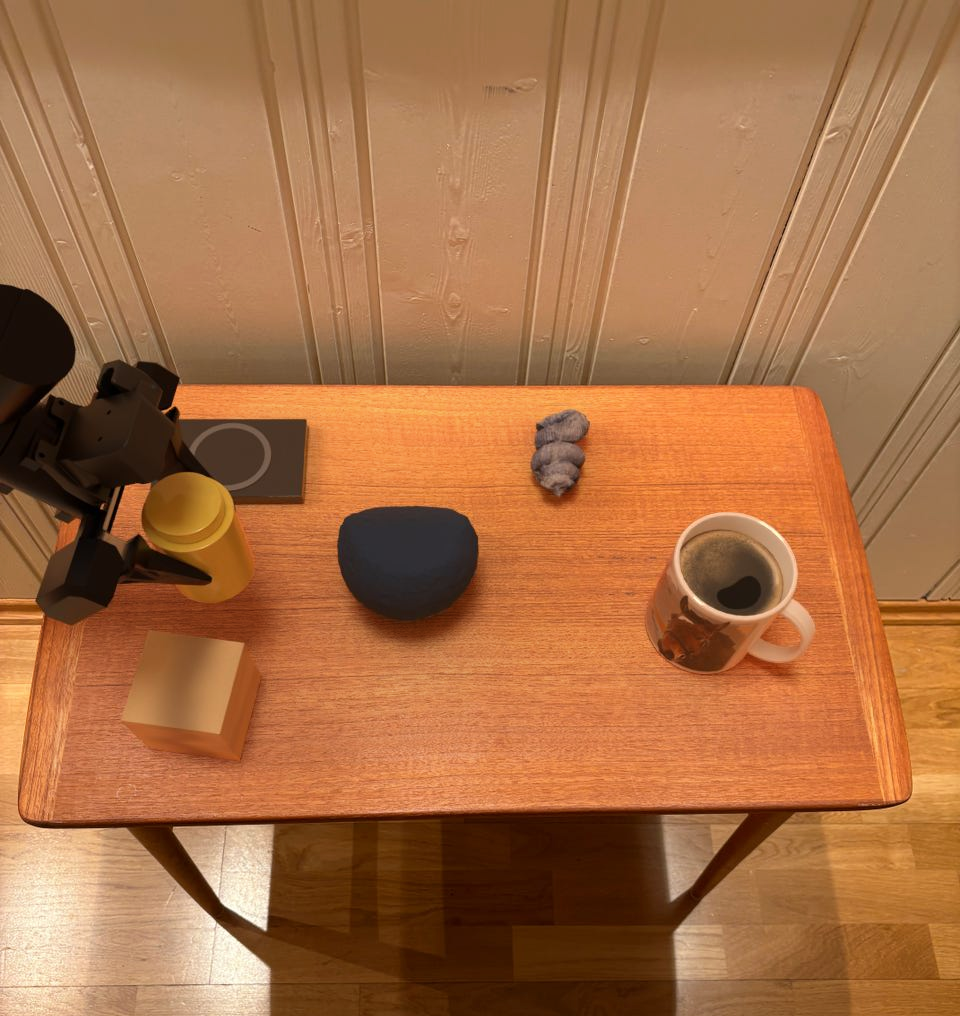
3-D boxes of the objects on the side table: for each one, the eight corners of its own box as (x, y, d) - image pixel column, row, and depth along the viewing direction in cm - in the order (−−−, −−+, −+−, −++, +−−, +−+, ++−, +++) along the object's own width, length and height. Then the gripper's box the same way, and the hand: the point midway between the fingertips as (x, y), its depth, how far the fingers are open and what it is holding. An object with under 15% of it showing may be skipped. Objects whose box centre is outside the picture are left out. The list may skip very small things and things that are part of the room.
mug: (731, 563, 81) (772, 496, 71) (790, 677, 76) (842, 622, 66) (627, 592, 79) (655, 528, 69) (681, 711, 75) (718, 660, 65)
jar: (170, 606, 66) (133, 546, 58) (172, 535, 69) (137, 467, 61) (255, 599, 67) (230, 539, 59) (254, 528, 70) (230, 461, 61)
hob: (152, 504, 81) (148, 496, 80) (163, 426, 85) (159, 417, 84) (303, 503, 82) (301, 495, 81) (308, 426, 86) (306, 417, 84)
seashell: (551, 431, 88) (551, 517, 84) (522, 403, 84) (521, 491, 80) (597, 413, 85) (600, 501, 81) (570, 383, 81) (571, 473, 77)
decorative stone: (488, 630, 77) (494, 576, 68) (355, 654, 76) (343, 602, 67) (462, 520, 82) (465, 455, 73) (336, 539, 80) (322, 476, 71)
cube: (148, 748, 71) (119, 720, 65) (174, 664, 75) (149, 629, 68) (239, 761, 71) (219, 734, 65) (261, 676, 74) (244, 642, 68)
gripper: (5, 520, 45) (256, 631, 55) (103, 261, 53) (307, 400, 63) (-66, 576, 52) (167, 666, 63) (29, 341, 60) (223, 454, 70)
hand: (219, 542), depth 64 cm, fingers closed on jar, 6 cm apart
